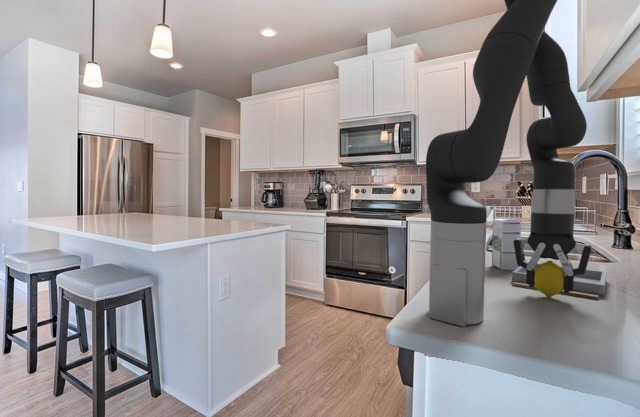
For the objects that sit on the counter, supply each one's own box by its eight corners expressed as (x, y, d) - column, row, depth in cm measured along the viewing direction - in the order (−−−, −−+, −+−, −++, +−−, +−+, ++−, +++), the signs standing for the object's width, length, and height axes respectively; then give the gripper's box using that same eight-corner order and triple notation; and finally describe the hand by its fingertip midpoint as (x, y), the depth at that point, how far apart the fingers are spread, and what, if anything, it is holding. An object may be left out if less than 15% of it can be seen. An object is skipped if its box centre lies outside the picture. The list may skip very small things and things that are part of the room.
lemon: (569, 302, 69) (571, 263, 69) (539, 300, 70) (541, 262, 70) (556, 294, 74) (558, 258, 74) (528, 293, 75) (530, 257, 75)
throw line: (598, 299, 71) (598, 297, 71) (512, 285, 81) (512, 283, 81) (598, 298, 72) (598, 295, 72) (513, 284, 83) (513, 281, 83)
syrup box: (521, 270, 97) (522, 219, 96) (500, 270, 97) (501, 219, 97) (510, 265, 103) (511, 218, 102) (490, 265, 103) (491, 218, 102)
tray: (603, 296, 73) (604, 285, 73) (512, 281, 85) (512, 272, 84) (606, 281, 85) (606, 271, 85) (525, 270, 97) (526, 261, 97)
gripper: (509, 210, 73) (507, 287, 74) (595, 213, 64) (591, 301, 65) (517, 208, 79) (515, 280, 80) (597, 211, 69) (593, 292, 70)
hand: (549, 289), depth 72 cm, fingers closed on lemon, 5 cm apart
